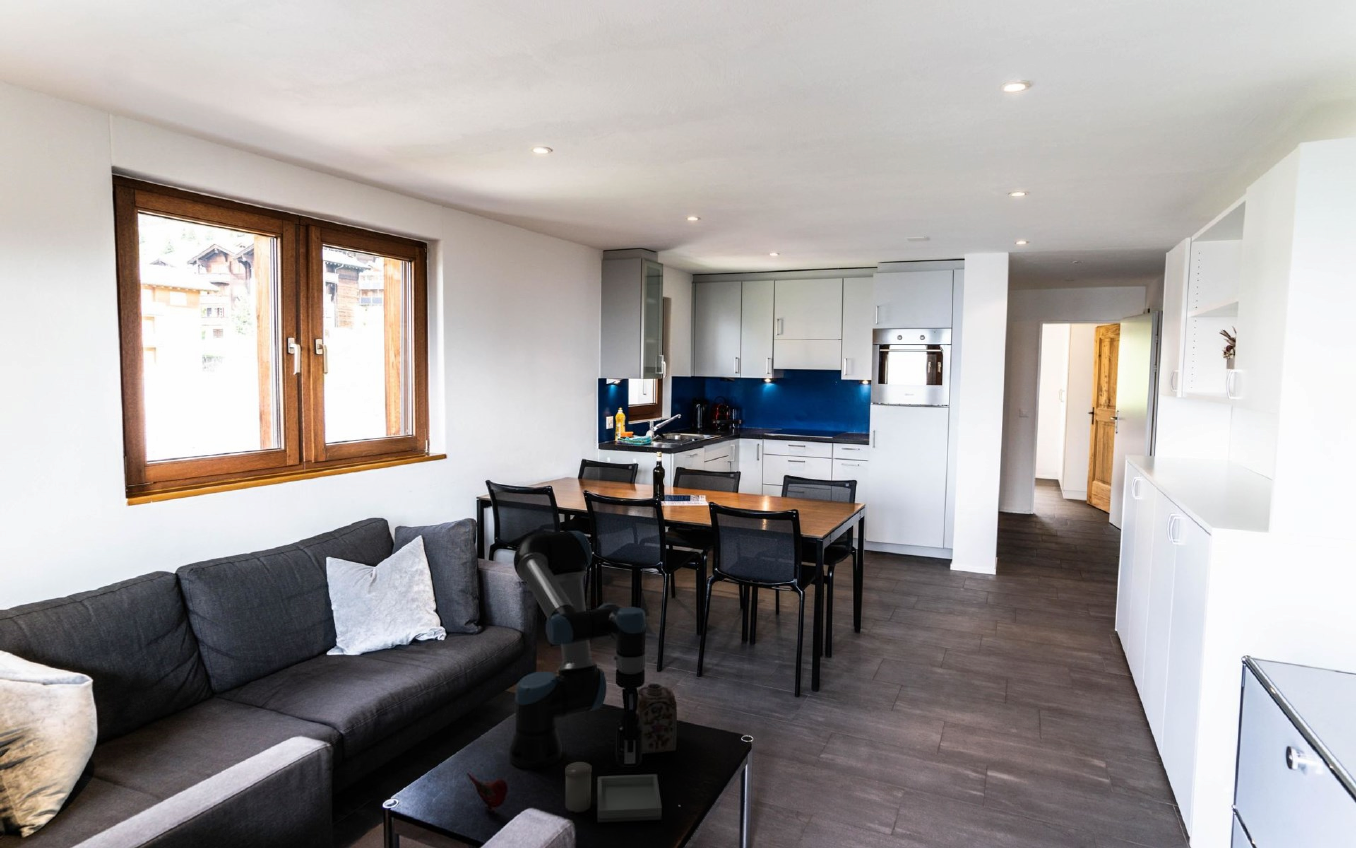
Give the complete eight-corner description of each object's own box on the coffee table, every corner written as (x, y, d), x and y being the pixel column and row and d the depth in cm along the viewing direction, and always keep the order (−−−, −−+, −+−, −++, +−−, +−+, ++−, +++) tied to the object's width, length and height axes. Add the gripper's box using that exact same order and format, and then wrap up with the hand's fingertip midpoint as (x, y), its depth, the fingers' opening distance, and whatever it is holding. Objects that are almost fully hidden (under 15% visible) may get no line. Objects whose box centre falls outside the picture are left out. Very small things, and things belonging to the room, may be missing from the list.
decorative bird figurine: (503, 825, 183) (503, 786, 182) (462, 798, 194) (462, 761, 193) (512, 820, 185) (513, 781, 184) (471, 793, 196) (471, 757, 196)
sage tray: (597, 787, 200) (597, 776, 200) (656, 785, 202) (656, 774, 202) (597, 822, 185) (597, 810, 184) (661, 819, 186) (661, 808, 186)
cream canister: (565, 798, 195) (565, 762, 194) (591, 797, 196) (591, 761, 195) (564, 813, 188) (564, 776, 188) (591, 812, 189) (591, 775, 188)
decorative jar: (638, 755, 218) (639, 695, 217) (631, 736, 229) (632, 680, 228) (677, 751, 221) (678, 692, 220) (668, 733, 232) (669, 677, 231)
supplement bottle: (620, 770, 188) (621, 724, 187) (612, 757, 194) (612, 712, 194) (646, 765, 191) (646, 719, 190) (636, 752, 197) (637, 708, 196)
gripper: (615, 655, 201) (614, 738, 202) (616, 684, 181) (615, 776, 182) (642, 654, 201) (641, 737, 203) (647, 683, 182) (646, 775, 183)
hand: (629, 755), depth 192 cm, fingers closed on supplement bottle, 7 cm apart
